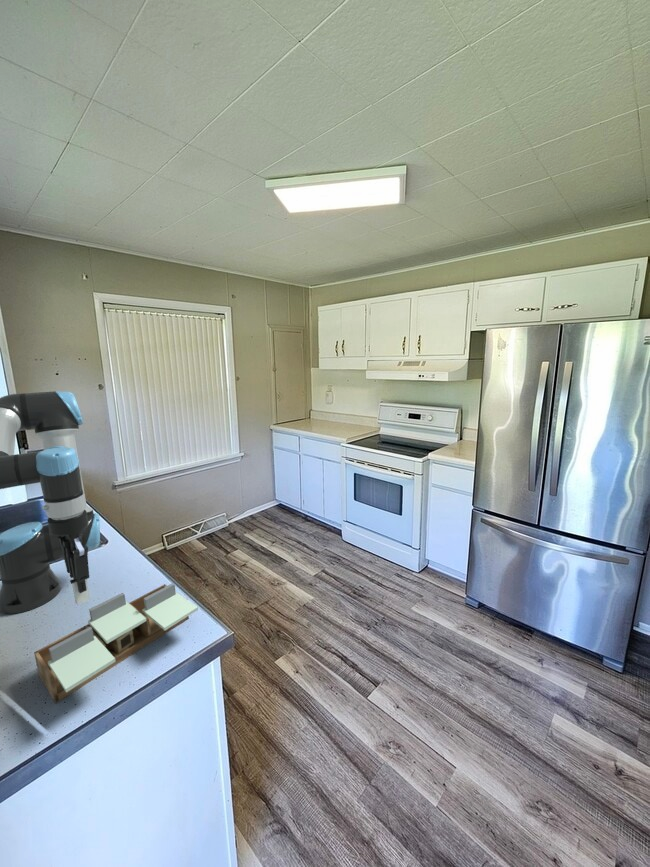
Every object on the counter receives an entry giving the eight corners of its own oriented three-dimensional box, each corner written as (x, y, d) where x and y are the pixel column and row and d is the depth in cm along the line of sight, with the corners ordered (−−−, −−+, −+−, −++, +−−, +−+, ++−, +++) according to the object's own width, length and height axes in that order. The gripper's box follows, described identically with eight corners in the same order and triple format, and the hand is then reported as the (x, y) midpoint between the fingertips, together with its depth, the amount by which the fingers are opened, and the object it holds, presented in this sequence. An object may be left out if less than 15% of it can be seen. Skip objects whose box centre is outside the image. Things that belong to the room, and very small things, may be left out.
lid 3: (142, 612, 93) (140, 599, 92) (175, 593, 100) (174, 581, 99) (164, 630, 86) (162, 617, 85) (198, 609, 93) (196, 596, 92)
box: (39, 678, 82) (34, 652, 81) (167, 604, 106) (164, 584, 105) (56, 706, 75) (50, 678, 74) (189, 621, 99) (186, 599, 98)
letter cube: (109, 648, 89) (107, 634, 89) (124, 637, 93) (122, 623, 92) (119, 653, 88) (117, 639, 87) (134, 642, 91) (132, 628, 90)
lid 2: (88, 623, 89) (86, 610, 88) (126, 603, 96) (124, 591, 95) (107, 643, 82) (104, 629, 82) (146, 620, 89) (144, 607, 89)
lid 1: (48, 664, 77) (45, 649, 76) (95, 638, 84) (92, 624, 83) (66, 692, 70) (63, 676, 69) (115, 661, 77) (113, 646, 77)
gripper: (39, 511, 84) (56, 598, 89) (56, 527, 76) (74, 621, 81) (75, 501, 90) (90, 583, 95) (95, 515, 82) (109, 604, 87)
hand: (82, 600), depth 88 cm, fingers closed
